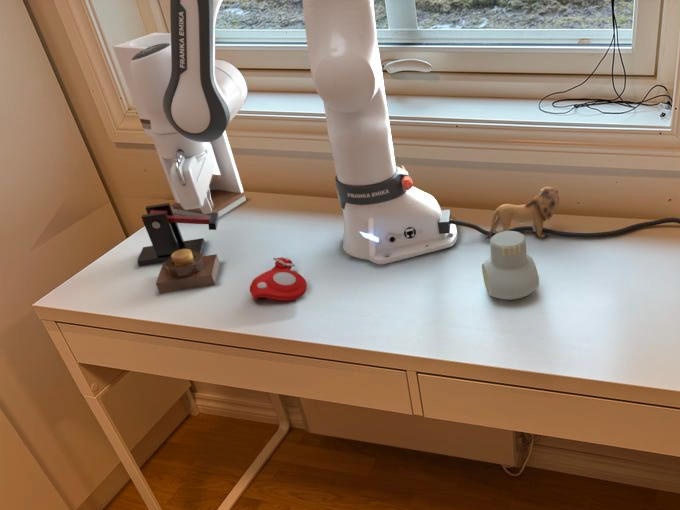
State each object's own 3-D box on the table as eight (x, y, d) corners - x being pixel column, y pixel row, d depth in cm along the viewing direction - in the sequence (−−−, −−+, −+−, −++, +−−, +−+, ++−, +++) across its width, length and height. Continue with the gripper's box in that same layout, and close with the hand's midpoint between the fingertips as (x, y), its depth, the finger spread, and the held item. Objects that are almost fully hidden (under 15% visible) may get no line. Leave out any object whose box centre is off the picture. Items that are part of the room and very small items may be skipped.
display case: (175, 213, 155) (112, 46, 134) (209, 193, 163) (154, 32, 141) (213, 220, 151) (155, 49, 129) (246, 200, 158) (196, 34, 137)
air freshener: (542, 303, 116) (540, 250, 110) (493, 311, 115) (489, 258, 109) (526, 270, 125) (524, 220, 119) (481, 278, 124) (477, 227, 118)
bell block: (220, 264, 135) (213, 245, 133) (215, 285, 129) (208, 266, 127) (167, 272, 134) (159, 253, 132) (159, 293, 128) (151, 274, 126)
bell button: (195, 255, 131) (192, 247, 130) (192, 265, 128) (189, 256, 127) (176, 258, 131) (172, 250, 130) (172, 268, 128) (169, 259, 127)
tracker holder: (316, 288, 123) (260, 296, 118) (314, 307, 126) (259, 316, 121) (291, 248, 130) (237, 254, 124) (289, 267, 133) (236, 274, 127)
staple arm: (219, 221, 140) (218, 210, 139) (216, 232, 136) (215, 221, 135) (154, 218, 137) (152, 206, 136) (149, 229, 133) (147, 217, 132)
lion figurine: (554, 223, 138) (554, 180, 133) (563, 235, 134) (563, 191, 129) (482, 235, 136) (479, 192, 131) (489, 248, 132) (485, 204, 127)
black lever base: (205, 243, 143) (189, 198, 137) (201, 257, 138) (185, 211, 132) (145, 252, 142) (126, 207, 136) (139, 266, 137) (119, 221, 131)
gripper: (192, 159, 119) (218, 231, 128) (207, 120, 135) (230, 187, 144) (155, 165, 119) (184, 237, 127) (174, 125, 135) (199, 192, 143)
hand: (208, 210), depth 136 cm, fingers closed
